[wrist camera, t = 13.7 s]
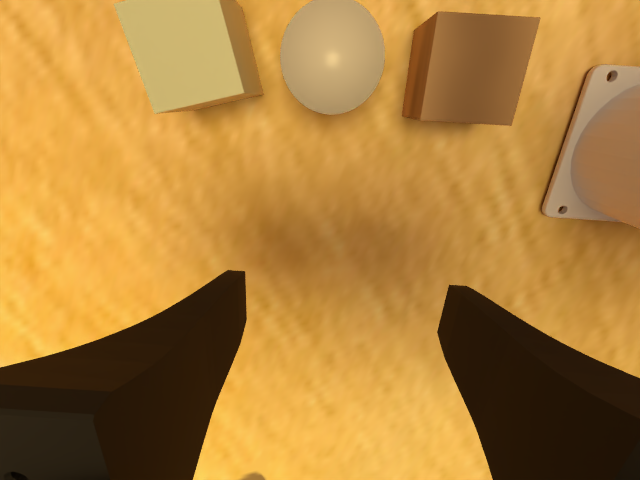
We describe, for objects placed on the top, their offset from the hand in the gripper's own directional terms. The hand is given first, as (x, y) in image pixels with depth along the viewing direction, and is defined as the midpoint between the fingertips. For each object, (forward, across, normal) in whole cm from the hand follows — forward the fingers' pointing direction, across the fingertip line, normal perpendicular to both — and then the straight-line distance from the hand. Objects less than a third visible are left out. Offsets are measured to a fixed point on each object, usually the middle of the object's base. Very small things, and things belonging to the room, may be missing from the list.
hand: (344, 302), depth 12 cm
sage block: (+10, +7, -8) cm, 14 cm away
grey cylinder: (+10, +1, -8) cm, 12 cm away
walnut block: (+10, -5, -8) cm, 13 cm away
